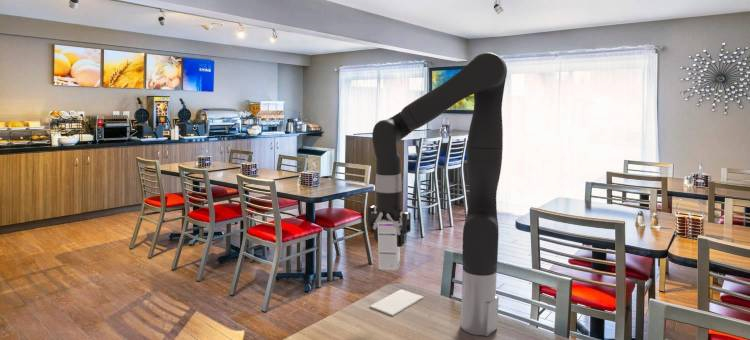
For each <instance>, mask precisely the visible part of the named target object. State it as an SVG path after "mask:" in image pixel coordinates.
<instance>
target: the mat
mask: <svg viewBox="0 0 750 340" xmlns="http://www.w3.org/2000/svg"><path fill="white" fill-rule="evenodd" d="M424 297H425V296H423V295H420V294H417V293H414V292H412V291H408V290H406V289H405V290H404V289H402V288H401V289H399V290H397V291H395V292H393V293H391V294H390V295H387V296H386V297H384V298H382V299H380V300H378V301H376V302H374V303H372V304H370V305H369V308H371V309H374V310H375V311H379V312H381V313H384V314H386V315H389V316H392V317H394V316H395V315H397V314H399V313H401V312H402V311H404V310H406V309H407V308H409V307H411V306H413V305H414V304H416V303H418V302H420V301H421V300H423V299H424Z"/></svg>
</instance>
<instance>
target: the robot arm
mask: <svg viewBox="0 0 750 340" xmlns="http://www.w3.org/2000/svg"><path fill="white" fill-rule="evenodd" d="M507 75H508V67H507V64H506V62H505V60H504V59H503V58H502V57H501V56H499V55H497V54H496V53H494V52H482V53H479V54H478V55H475V56H474V58H473V59H472V60H471V61H469V62H468V63H467V64H466V65H465V66H464V67H462V69H461V70H459V71H458V72H457V73H456V74H455V75H453V76H452V77H450V78H449V79H447V80H446V81H444V83H442V84H440V85H439V86H437V87H435V88H433V89H432V90H430V91H428V92H427V93H425V94H424V95H422V96H420V97H418V98H417V99H415V100H413V101H411V102H410V103H408V104H407V105H406V106H404V107H403V108H402V110H401V111H399V112H398V113H396V114H395V115H393V116H391V117H389V118H387V119H382V120H379V121H378V122H376V123H375V124H374V127H373V130H372V135H371V136H372V139H371V140H372V145H373V150H374V155H375V159H376V161H375V167H376V168H375V170H376V173H375V174H376V175H375V205H371V206H368V208H367V219H368V221H367V222H368V223H367V224H368V226H369V227H371V228H372V229H373V230H374V232H373V235H374V236H373V237H374V238H373V239H374V240H375V242H376V243H378V221H379V220H381V219H384V220H390V221H391V222H392V223H393V227H394V228H397V247H400V248H401V247H403V246H404V245H405V234H409V233H410V232H411V227H412V226H411V225H412V224H411V222H412V221H411V217H412V215H411V211H402V209H401V208H402V204H403V202H402V201H403V199H402V198H403V196H402V195H403V194H402V193H403V192H402V191H403V188H402V187H403V186H402V185H403V184H402V183H403V182H402V175H401V172H402V167H401V164H402V163H401V162H402V161H401V156H400V154H399V153H398V151H397V143H398V142H399V141H401V140H402V139H405V137H407V136H408V135H410V134H411V133H412V132H414V131H416V130H418V129H420V128H422V127H423V126H425V125H427V124H428V123H430V122H432V121H433V120H435V119H437V118H438V117H439V116H440V115H442V114H443V113H444V112H446V111H447V110H449V109H450V108H451V107H453V106H454V105H456V104H457V103H459V102H460V101H462V100H464V99H466V98H468V97H469V96H472V95H473V110H472V111H473V112H472V117H471V122H470V124H469V125H470V126H469V129H468V134H467V135H468V136H467V145H466V173H467V174H466V175H467V180H468V182H467V183H468V188H469V191H468V192H469V197H468V203H467V204H468V205H467V211H466V217H465V220H464V225H463V229H462V230H463V231H462V250H461V251H462V255H461V257H462V259H461V261H462V270H461V271H462V276H461V278H462V279H461V306H460V307H461V310H460V311H461V314H460V327H461V329H462V330H463V331H464V332H465V333H468V334H470V335H473V336H483V337H489V336H490V335H491V334H492V333H494V332H496V330H497V329H498V322H499V321H498V319H499V318H498V317H499V300H500V299H499V296H497V294H496V293H497V272H498V270H497V269H498V254H499V253H498V252H499V220H498V212H497V211H498V210H497V194H498V193H497V192H498V186H499V181H500V176H501V170H502V163H503V150H504V149H503V147H504V146H503V145H504V143H503V139H504V138H503V137H504V131H503V129H504V128H503V114H502V113H503V110H502V109H503V101H504V100H503V99H504V93H505V92H504V91H505V86H506V85H505V84H506V80H507ZM395 221H398V224H397V225H396V224H395Z"/></svg>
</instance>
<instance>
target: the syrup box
mask: <svg viewBox="0 0 750 340" xmlns="http://www.w3.org/2000/svg"><path fill="white" fill-rule="evenodd" d="M395 224H396V225H397V224H398V221H395ZM377 248H378V250H377V251H378V255H377V256H378V259H377V260H378V269H379V270H383V271H385V270H386V271H387V270H388V271H398V270H399V267H400V266H401V265H400V264H401V247H397V228H394V227H393V223H392V222H391V221H390V220H384V219H381V220H379V221H378V242H377Z"/></svg>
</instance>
